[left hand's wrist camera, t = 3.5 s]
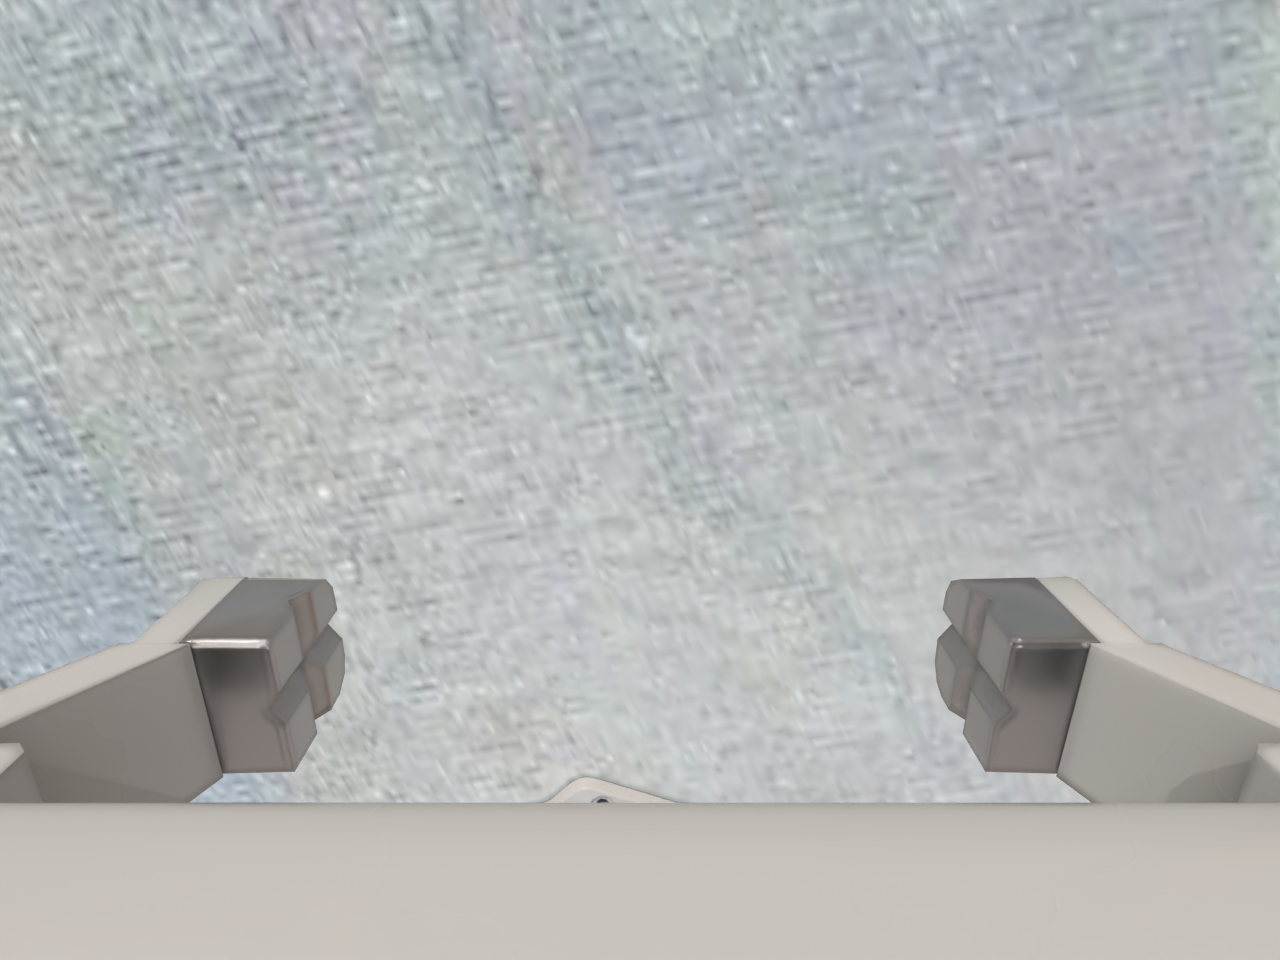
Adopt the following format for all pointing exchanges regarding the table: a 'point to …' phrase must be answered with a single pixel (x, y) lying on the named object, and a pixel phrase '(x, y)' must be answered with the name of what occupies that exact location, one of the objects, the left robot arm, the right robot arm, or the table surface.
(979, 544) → the table surface
